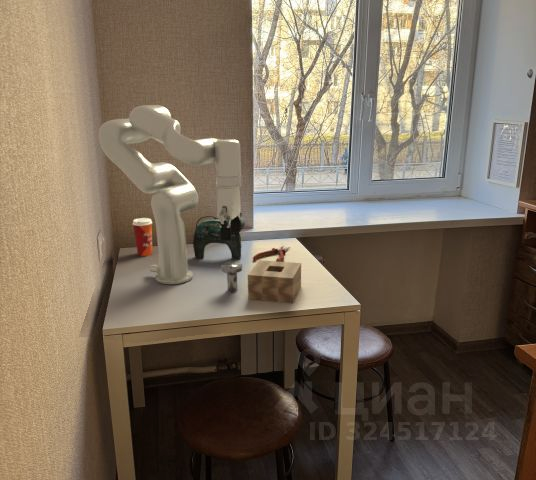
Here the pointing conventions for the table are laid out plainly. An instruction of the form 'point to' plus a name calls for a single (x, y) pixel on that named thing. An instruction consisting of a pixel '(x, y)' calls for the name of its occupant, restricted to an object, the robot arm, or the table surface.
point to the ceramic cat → (215, 237)
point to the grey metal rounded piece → (231, 274)
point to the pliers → (274, 251)
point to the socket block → (274, 281)
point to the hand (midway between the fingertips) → (231, 235)
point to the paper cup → (143, 236)
